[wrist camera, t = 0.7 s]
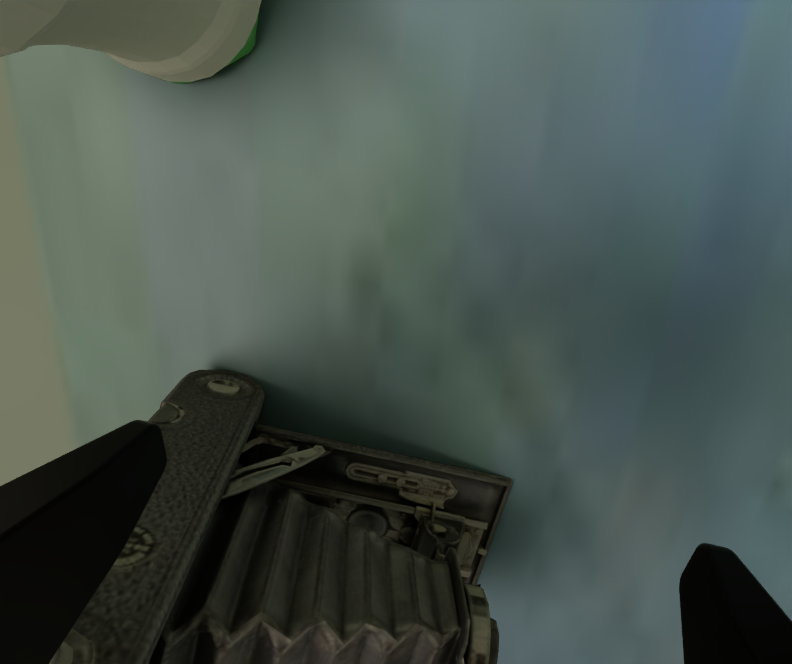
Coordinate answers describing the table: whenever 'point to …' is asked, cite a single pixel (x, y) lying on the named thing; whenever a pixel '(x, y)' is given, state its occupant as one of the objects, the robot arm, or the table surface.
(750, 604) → the robot arm
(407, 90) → the table surface
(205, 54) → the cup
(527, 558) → the table surface
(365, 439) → the table surface
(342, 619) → the camera
